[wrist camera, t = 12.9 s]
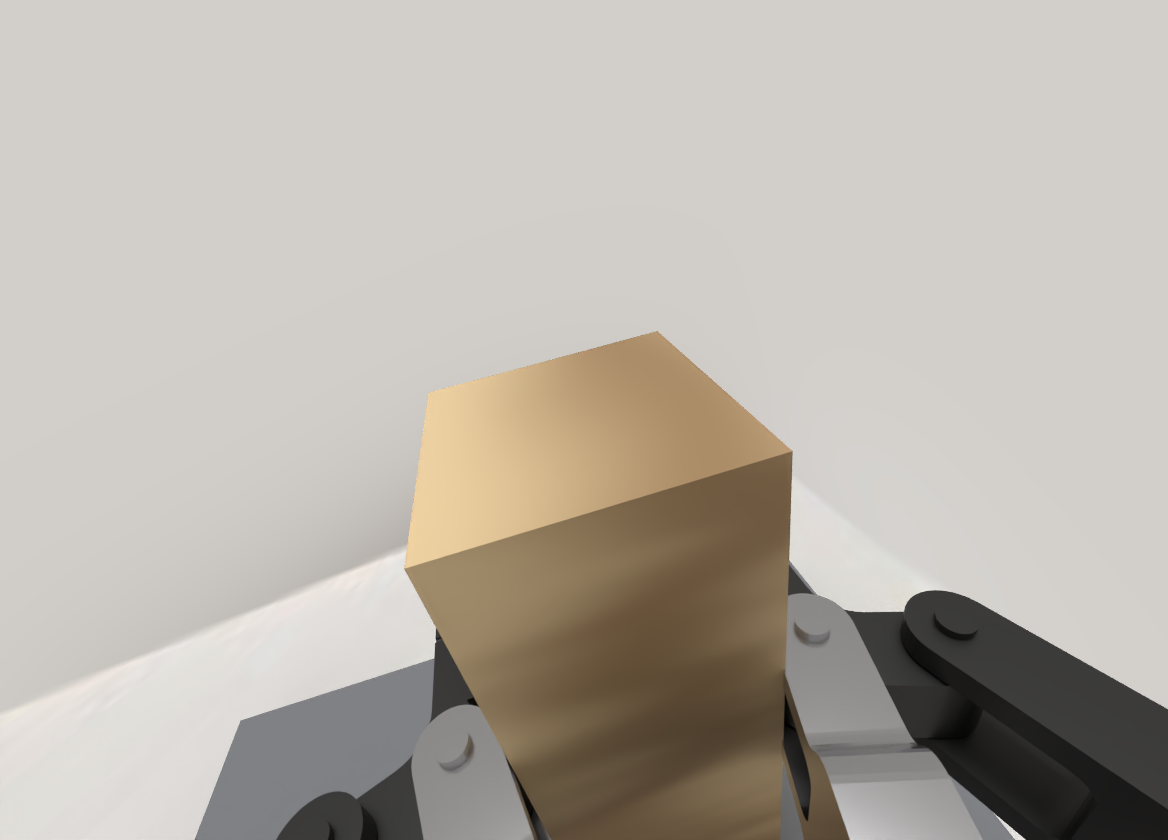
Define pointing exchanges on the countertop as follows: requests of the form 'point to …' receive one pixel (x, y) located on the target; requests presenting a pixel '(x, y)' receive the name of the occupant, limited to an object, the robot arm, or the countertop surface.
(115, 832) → the countertop surface
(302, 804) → the plate
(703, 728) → the oak block
